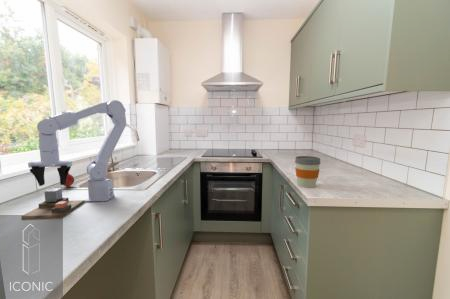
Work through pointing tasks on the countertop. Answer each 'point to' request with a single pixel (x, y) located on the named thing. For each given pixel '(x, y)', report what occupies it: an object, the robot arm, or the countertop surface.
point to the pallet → (52, 210)
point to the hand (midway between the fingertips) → (52, 184)
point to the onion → (69, 180)
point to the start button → (61, 204)
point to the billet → (53, 195)
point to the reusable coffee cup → (307, 171)
